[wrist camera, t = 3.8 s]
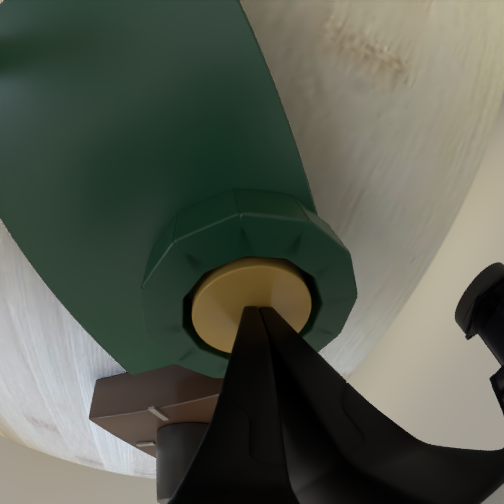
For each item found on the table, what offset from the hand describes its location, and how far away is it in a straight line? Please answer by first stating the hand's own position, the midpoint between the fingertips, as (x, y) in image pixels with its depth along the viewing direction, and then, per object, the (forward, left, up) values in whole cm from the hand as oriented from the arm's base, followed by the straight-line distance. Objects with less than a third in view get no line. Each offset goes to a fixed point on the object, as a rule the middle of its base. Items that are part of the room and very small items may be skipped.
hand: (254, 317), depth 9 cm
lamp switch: (0, 0, -2) cm, 2 cm away
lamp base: (+5, +2, -4) cm, 7 cm away
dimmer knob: (-9, +7, -1) cm, 11 cm away
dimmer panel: (-9, +7, -4) cm, 12 cm away
